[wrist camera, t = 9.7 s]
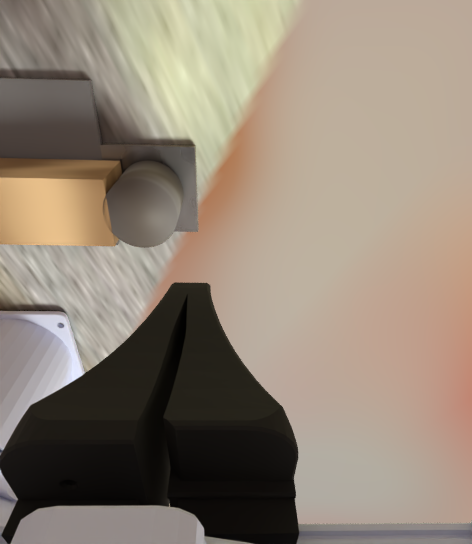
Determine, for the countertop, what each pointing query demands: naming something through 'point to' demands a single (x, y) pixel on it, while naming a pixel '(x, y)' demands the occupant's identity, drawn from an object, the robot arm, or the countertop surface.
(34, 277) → the countertop surface
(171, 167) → the hinge bracket
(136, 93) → the countertop surface
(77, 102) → the seat mat
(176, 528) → the robot arm
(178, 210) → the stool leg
